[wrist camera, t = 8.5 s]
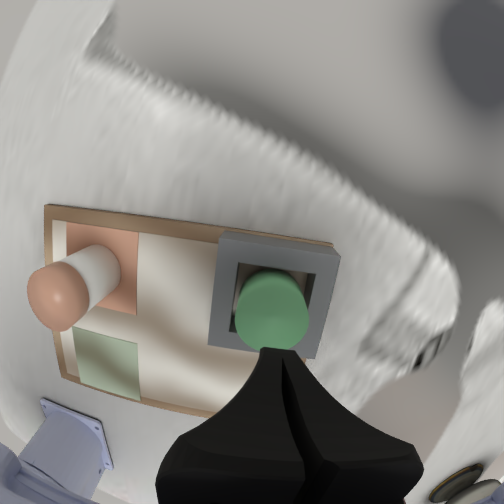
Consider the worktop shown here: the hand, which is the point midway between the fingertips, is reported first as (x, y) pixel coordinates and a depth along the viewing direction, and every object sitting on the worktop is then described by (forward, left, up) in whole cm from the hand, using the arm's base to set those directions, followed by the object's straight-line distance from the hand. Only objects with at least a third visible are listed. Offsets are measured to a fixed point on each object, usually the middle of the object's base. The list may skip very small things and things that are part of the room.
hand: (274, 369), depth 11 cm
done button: (0, 0, -7) cm, 7 cm away
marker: (-1, +12, -8) cm, 15 cm away
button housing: (0, 0, -9) cm, 9 cm away
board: (-5, +7, -9) cm, 13 cm away
